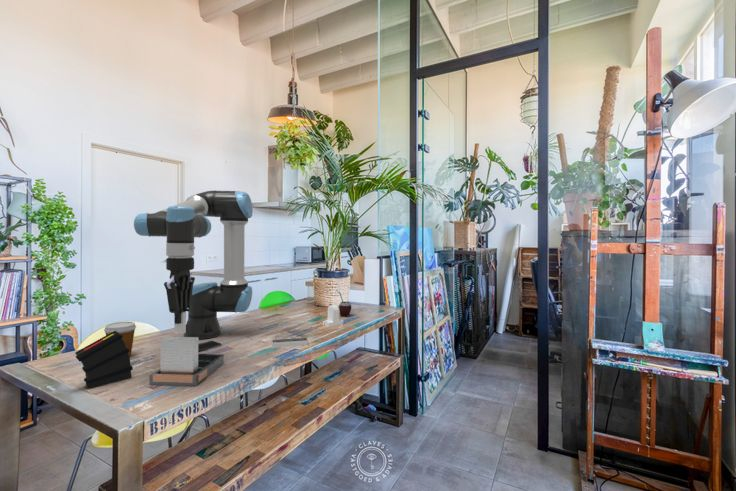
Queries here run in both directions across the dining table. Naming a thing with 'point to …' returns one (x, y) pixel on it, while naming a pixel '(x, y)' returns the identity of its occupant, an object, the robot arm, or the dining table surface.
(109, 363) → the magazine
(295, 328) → the dining table surface
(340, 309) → the mate gourd
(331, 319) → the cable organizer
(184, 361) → the panel
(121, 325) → the disposable coffee cup
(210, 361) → the slot rack
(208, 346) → the phone
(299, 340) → the multiport hub
